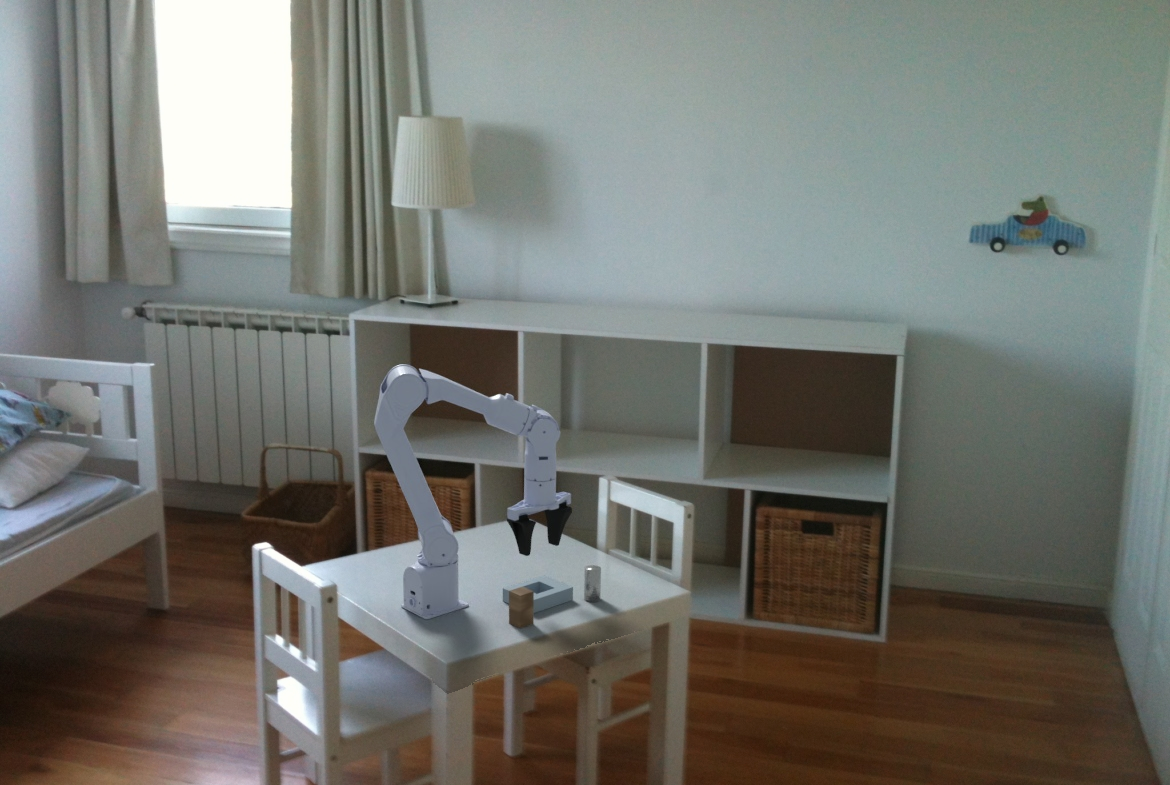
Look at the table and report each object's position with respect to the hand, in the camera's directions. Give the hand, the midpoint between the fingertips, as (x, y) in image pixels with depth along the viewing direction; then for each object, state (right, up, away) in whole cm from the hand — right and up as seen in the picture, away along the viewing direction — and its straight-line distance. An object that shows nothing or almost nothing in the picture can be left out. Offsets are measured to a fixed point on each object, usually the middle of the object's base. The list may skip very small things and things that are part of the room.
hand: (539, 549), depth 207 cm
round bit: (+10, -9, +2) cm, 14 cm away
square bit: (-3, -12, -10) cm, 15 cm away
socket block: (0, -9, +1) cm, 9 cm away
